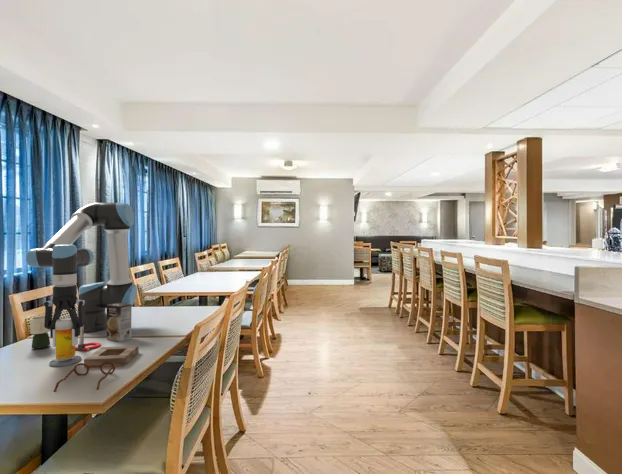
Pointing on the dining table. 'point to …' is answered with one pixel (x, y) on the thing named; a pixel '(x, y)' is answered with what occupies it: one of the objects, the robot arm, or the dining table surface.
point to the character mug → (39, 332)
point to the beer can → (64, 339)
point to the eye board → (112, 356)
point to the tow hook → (82, 345)
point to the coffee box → (118, 321)
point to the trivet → (64, 362)
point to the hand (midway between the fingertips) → (65, 345)
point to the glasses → (88, 371)
